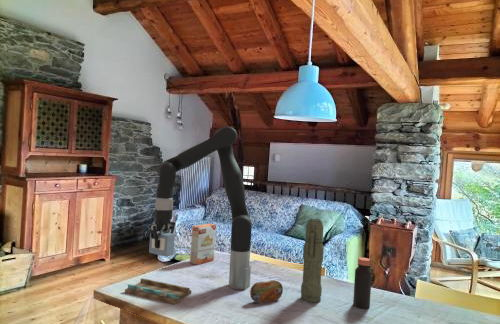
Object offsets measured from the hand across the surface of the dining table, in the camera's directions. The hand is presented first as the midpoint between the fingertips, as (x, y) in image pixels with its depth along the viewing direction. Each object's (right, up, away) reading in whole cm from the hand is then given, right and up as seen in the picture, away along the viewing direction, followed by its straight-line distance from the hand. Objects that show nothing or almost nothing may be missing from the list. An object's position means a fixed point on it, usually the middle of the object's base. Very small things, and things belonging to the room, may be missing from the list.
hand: (161, 246), depth 157 cm
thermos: (+65, -23, +1) cm, 69 cm away
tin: (+45, -22, -3) cm, 51 cm away
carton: (0, -3, 0) cm, 3 cm away
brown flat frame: (-1, -20, -1) cm, 20 cm away
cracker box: (+11, -20, +47) cm, 53 cm away
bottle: (+86, -25, -3) cm, 90 cm away
